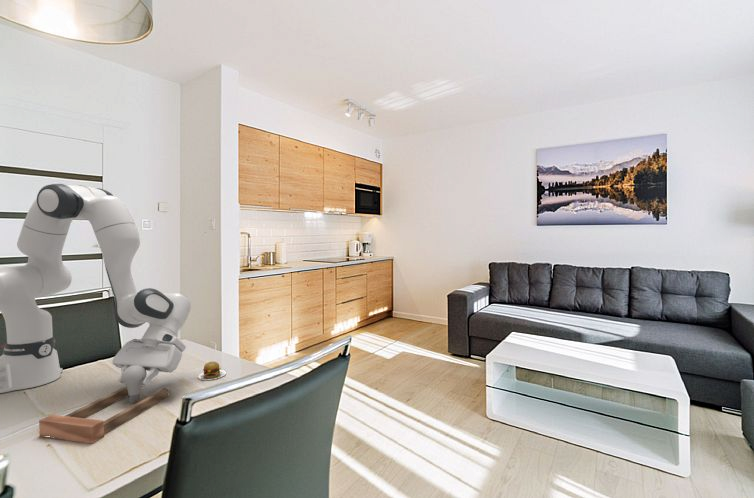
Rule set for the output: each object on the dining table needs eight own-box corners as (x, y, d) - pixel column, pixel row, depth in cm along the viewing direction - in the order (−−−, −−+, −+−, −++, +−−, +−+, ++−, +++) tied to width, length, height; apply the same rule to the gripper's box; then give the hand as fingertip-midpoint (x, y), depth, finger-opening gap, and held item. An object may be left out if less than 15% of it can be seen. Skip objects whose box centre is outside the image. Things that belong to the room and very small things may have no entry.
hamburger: (236, 371, 133) (236, 356, 133) (220, 385, 121) (219, 369, 121) (205, 370, 134) (204, 355, 134) (185, 384, 122) (185, 367, 122)
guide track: (127, 392, 114) (126, 379, 114) (170, 396, 111) (170, 383, 111) (39, 436, 90) (39, 420, 90) (92, 443, 87) (91, 427, 87)
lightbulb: (145, 395, 112) (144, 360, 112) (148, 402, 107) (147, 365, 107) (121, 401, 108) (120, 364, 108) (123, 409, 104) (122, 371, 103)
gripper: (123, 333, 116) (95, 376, 107) (180, 337, 112) (156, 381, 103) (135, 343, 120) (109, 384, 111) (190, 347, 117) (168, 390, 107)
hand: (132, 383), depth 107 cm, fingers closed on lightbulb, 6 cm apart
